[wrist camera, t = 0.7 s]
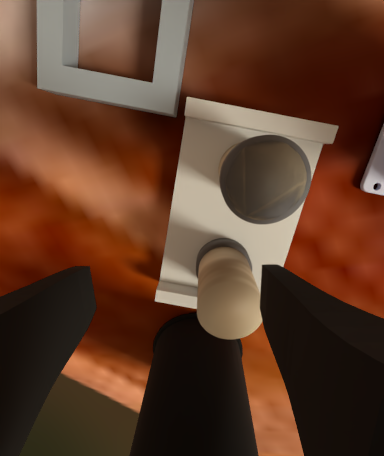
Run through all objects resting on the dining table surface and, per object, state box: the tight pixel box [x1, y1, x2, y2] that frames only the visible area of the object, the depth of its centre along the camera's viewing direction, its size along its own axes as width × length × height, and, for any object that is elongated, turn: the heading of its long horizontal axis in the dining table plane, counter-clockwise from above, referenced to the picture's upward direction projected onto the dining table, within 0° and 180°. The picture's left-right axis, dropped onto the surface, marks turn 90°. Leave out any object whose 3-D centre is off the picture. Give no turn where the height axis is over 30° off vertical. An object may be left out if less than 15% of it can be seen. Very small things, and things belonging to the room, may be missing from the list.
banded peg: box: [196, 238, 262, 339], centre depth 17 cm, size 4×4×6 cm
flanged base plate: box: [155, 97, 339, 309], centre depth 18 cm, size 9×14×3 cm, turn 170°
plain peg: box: [218, 135, 311, 224], centre depth 14 cm, size 4×4×6 cm
